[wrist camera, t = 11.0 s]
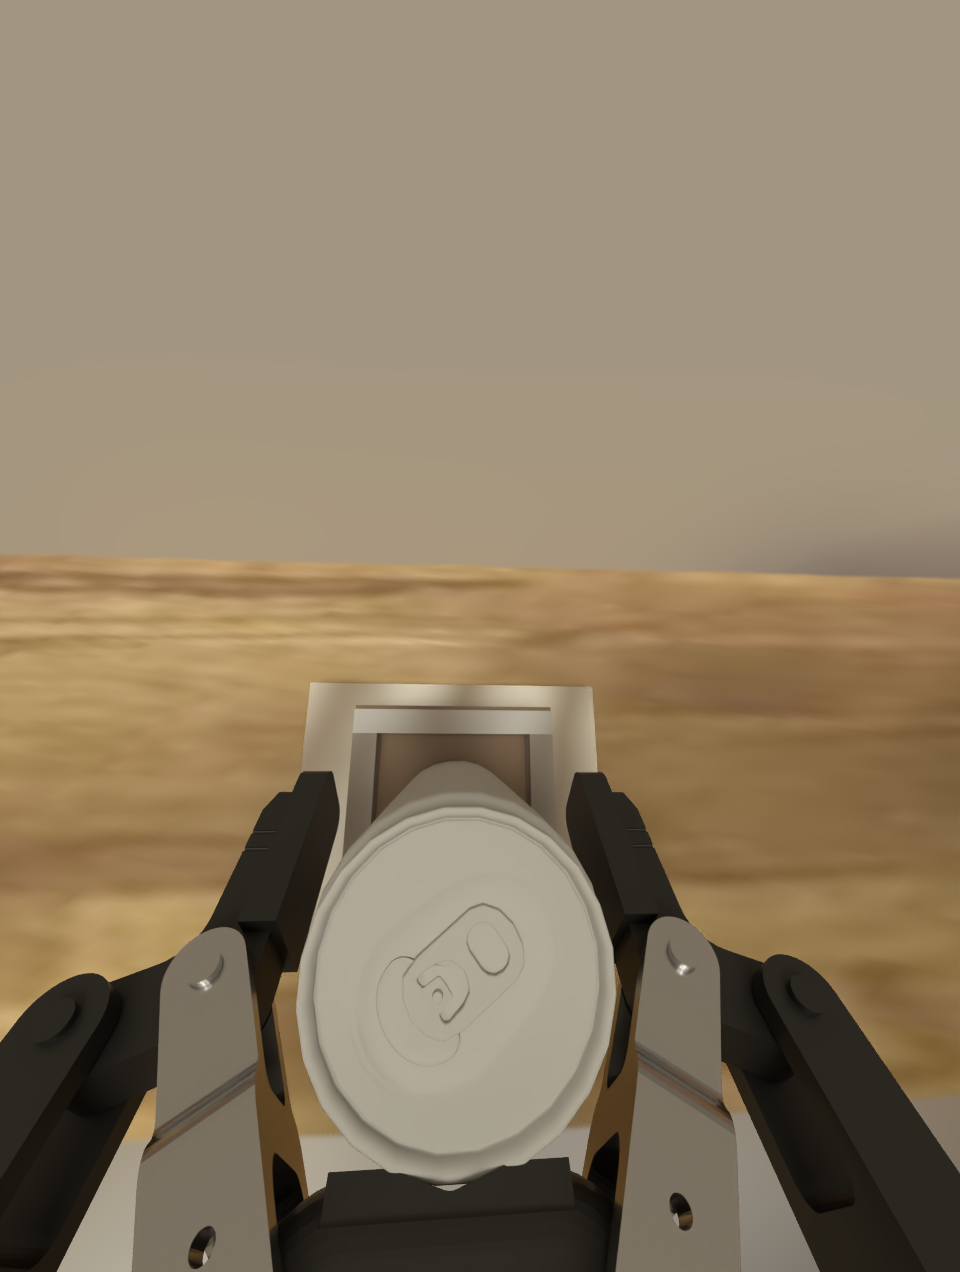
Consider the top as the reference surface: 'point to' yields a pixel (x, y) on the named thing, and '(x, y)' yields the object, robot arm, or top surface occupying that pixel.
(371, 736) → the pedestal base
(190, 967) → the robot arm
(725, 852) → the top surface
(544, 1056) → the beverage can
